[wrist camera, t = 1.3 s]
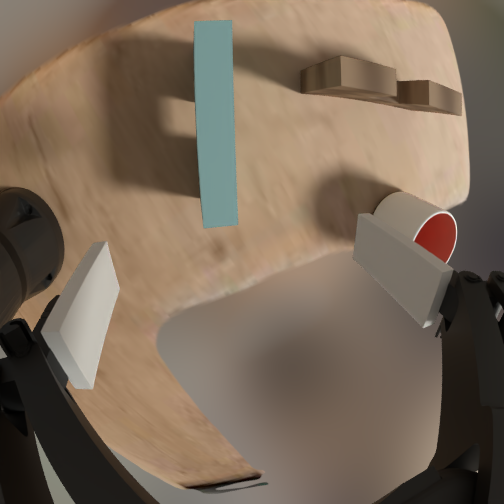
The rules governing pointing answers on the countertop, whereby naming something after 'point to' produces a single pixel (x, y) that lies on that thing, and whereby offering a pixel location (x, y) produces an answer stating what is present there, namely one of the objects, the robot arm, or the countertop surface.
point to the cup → (420, 222)
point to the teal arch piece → (215, 122)
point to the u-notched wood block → (378, 86)
